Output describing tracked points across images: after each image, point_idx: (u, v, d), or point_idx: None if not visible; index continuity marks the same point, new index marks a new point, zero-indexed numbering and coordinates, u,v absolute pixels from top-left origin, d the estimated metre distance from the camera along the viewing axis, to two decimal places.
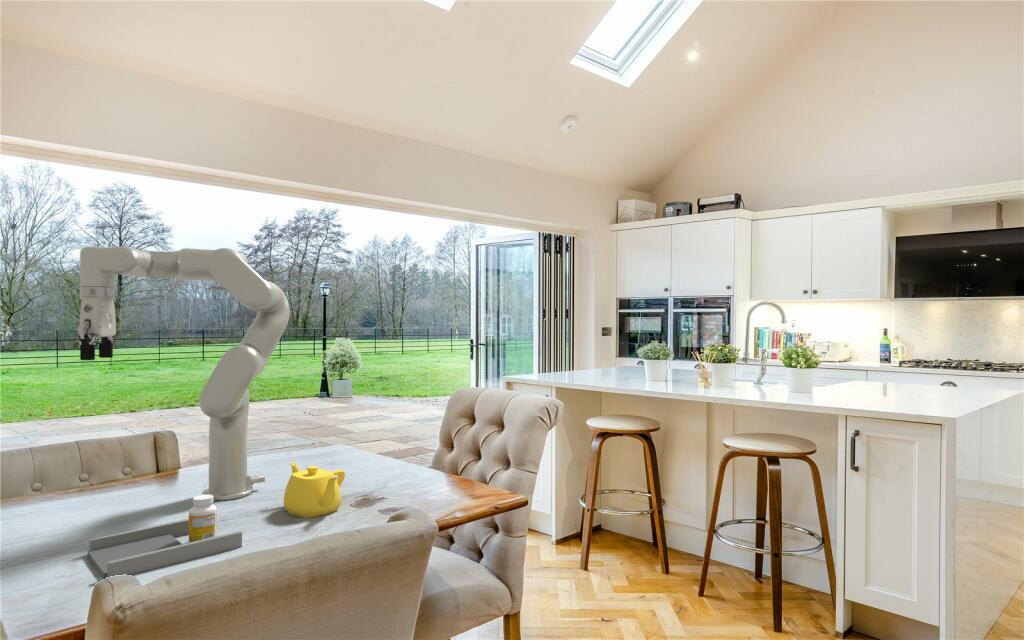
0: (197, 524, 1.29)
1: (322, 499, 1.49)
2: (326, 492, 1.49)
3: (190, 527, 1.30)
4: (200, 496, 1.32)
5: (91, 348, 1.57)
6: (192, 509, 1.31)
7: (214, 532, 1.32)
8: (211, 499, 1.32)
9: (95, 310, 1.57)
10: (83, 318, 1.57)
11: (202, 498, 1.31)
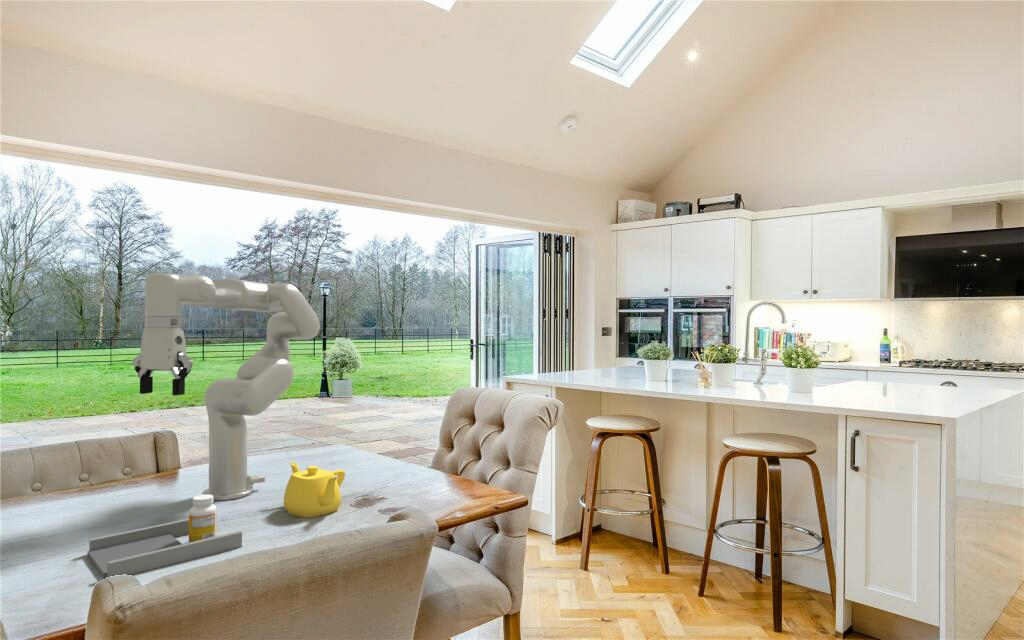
0: (197, 524, 1.29)
1: (322, 499, 1.49)
2: (326, 492, 1.49)
3: (190, 527, 1.30)
4: (200, 496, 1.32)
5: None
6: (192, 509, 1.31)
7: (214, 532, 1.32)
8: (211, 499, 1.32)
9: (184, 342, 1.50)
10: (176, 351, 1.47)
11: (202, 498, 1.31)
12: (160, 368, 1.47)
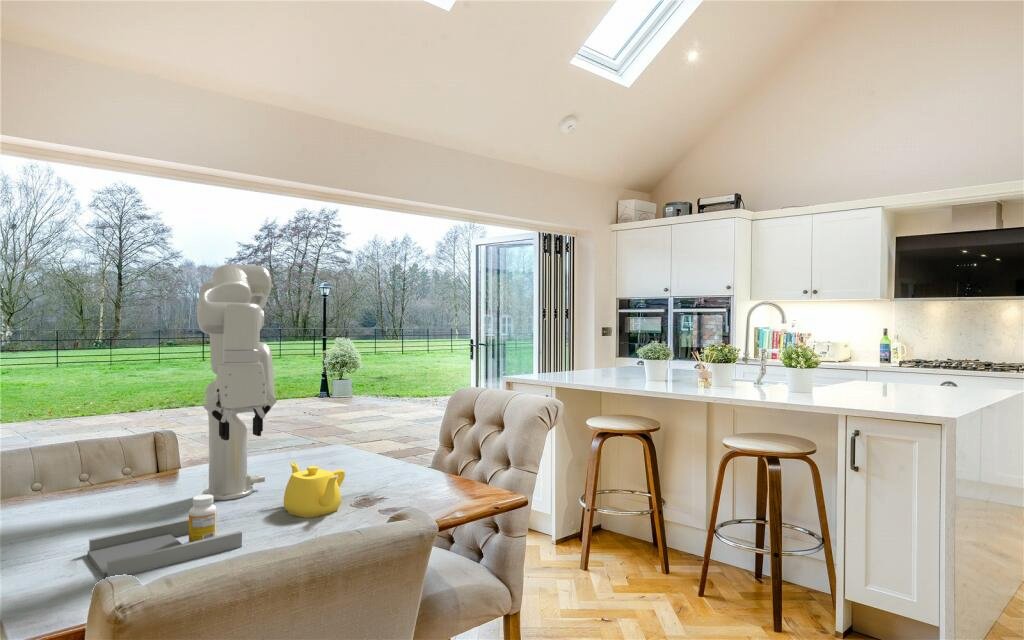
0: (197, 524, 1.29)
1: (322, 499, 1.49)
2: (326, 492, 1.49)
3: (190, 527, 1.30)
4: (200, 496, 1.32)
5: None
6: (192, 509, 1.31)
7: (214, 532, 1.32)
8: (211, 499, 1.32)
9: None
10: None
11: (202, 498, 1.31)
12: (251, 405, 1.37)
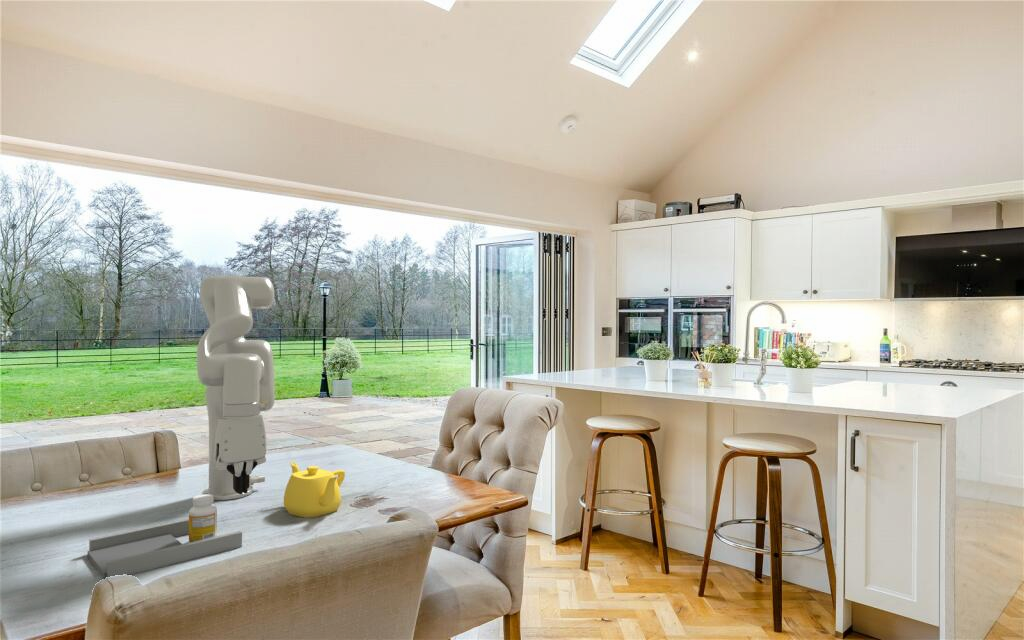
0: (197, 524, 1.29)
1: (322, 499, 1.49)
2: (326, 492, 1.49)
3: (190, 527, 1.30)
4: (200, 496, 1.32)
5: None
6: (192, 509, 1.31)
7: (214, 532, 1.32)
8: (211, 499, 1.32)
9: None
10: None
11: (202, 498, 1.31)
12: (251, 458, 1.37)
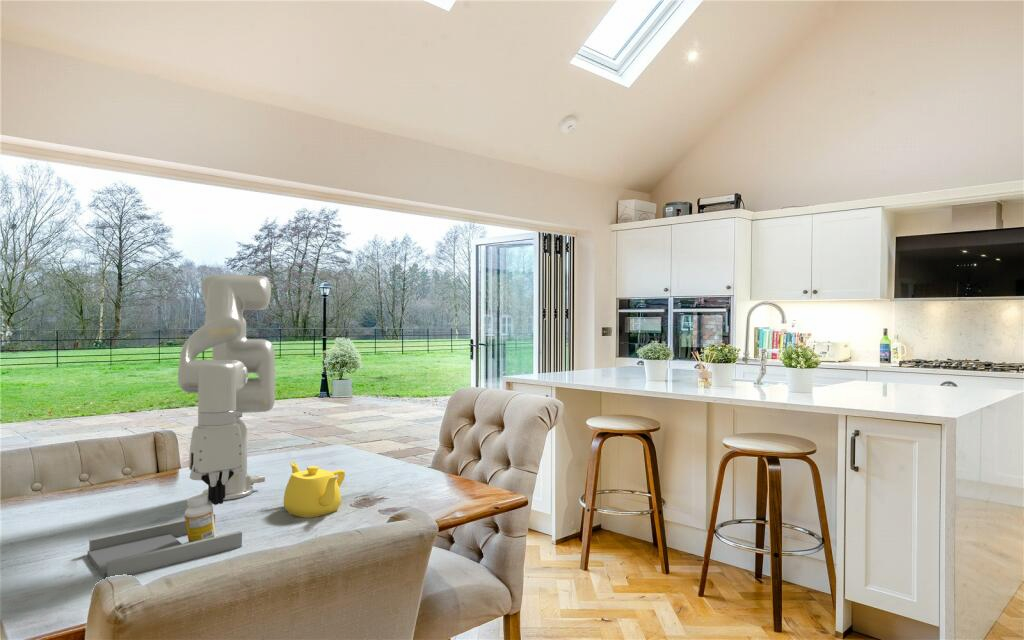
0: (194, 525, 1.29)
1: (322, 499, 1.49)
2: (326, 492, 1.49)
3: (188, 528, 1.30)
4: (194, 496, 1.31)
5: None
6: (187, 510, 1.30)
7: (213, 530, 1.32)
8: (205, 498, 1.31)
9: None
10: None
11: (196, 498, 1.30)
12: (227, 468, 1.33)
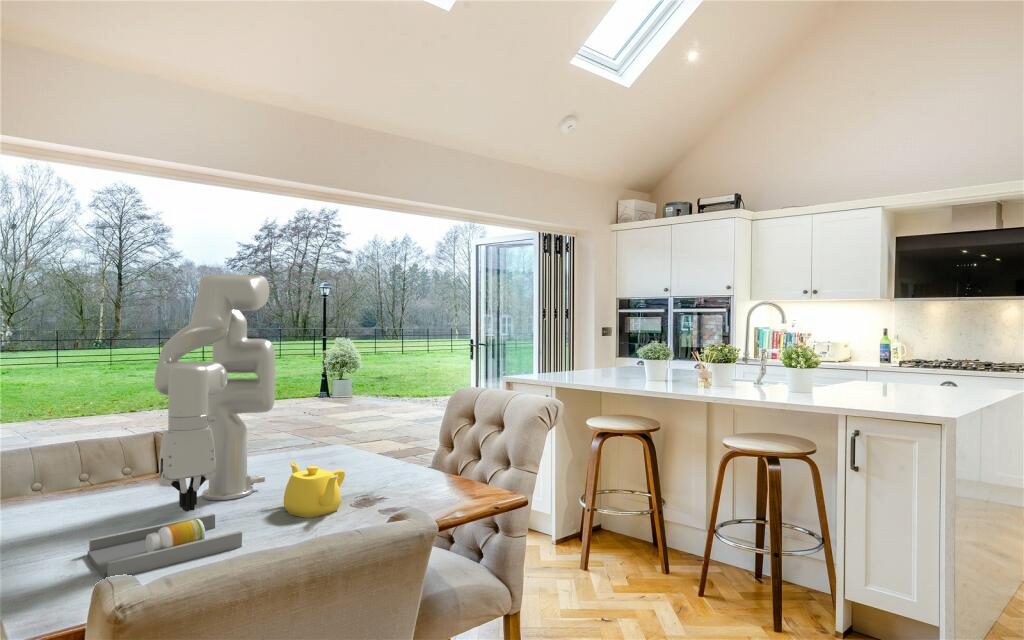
0: None
1: (322, 499, 1.49)
2: (326, 492, 1.49)
3: None
4: (148, 540, 1.21)
5: None
6: None
7: None
8: None
9: None
10: None
11: (148, 549, 1.21)
12: (198, 474, 1.30)
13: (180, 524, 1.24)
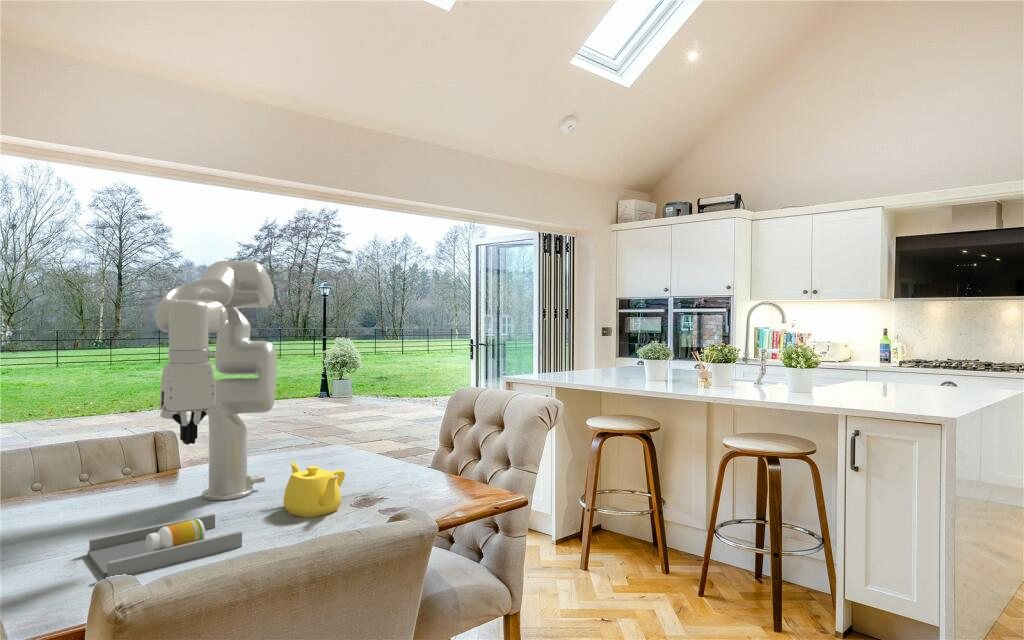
0: None
1: (322, 499, 1.49)
2: (326, 492, 1.49)
3: None
4: (148, 540, 1.21)
5: None
6: None
7: None
8: None
9: None
10: None
11: (148, 549, 1.21)
12: (199, 407, 1.31)
13: (180, 524, 1.24)
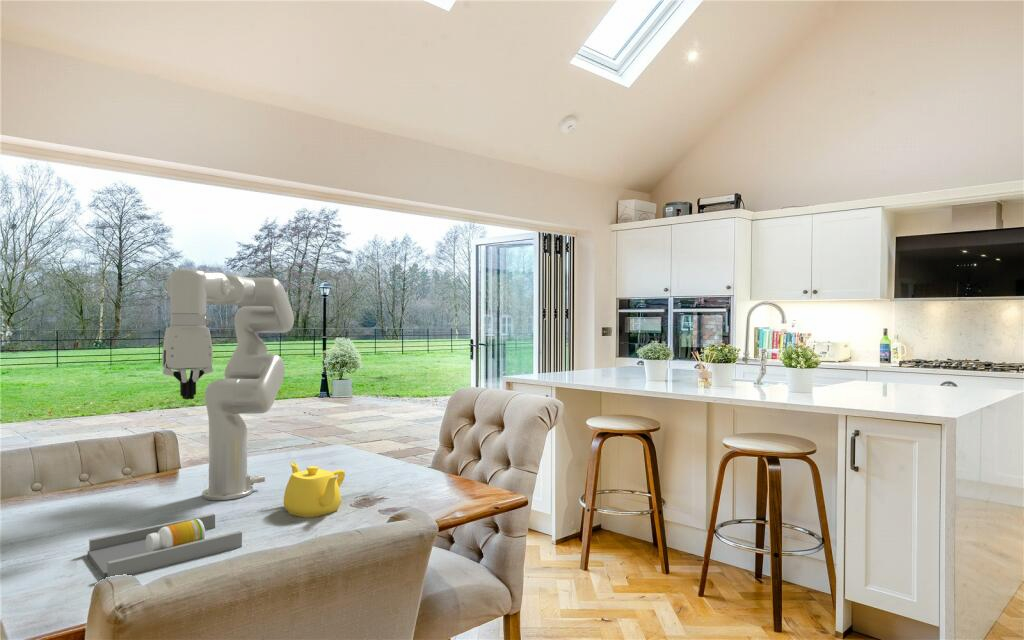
0: None
1: (322, 499, 1.49)
2: (326, 492, 1.49)
3: None
4: (148, 540, 1.21)
5: None
6: None
7: None
8: None
9: None
10: None
11: (148, 549, 1.21)
12: (197, 366, 1.45)
13: (180, 524, 1.24)
